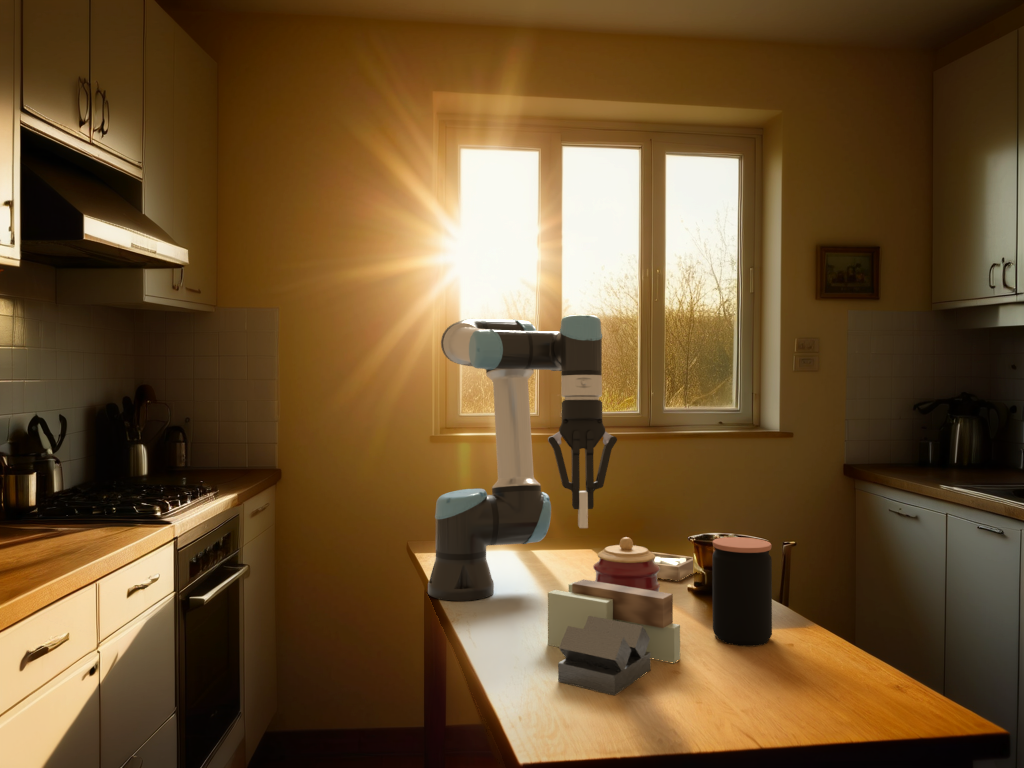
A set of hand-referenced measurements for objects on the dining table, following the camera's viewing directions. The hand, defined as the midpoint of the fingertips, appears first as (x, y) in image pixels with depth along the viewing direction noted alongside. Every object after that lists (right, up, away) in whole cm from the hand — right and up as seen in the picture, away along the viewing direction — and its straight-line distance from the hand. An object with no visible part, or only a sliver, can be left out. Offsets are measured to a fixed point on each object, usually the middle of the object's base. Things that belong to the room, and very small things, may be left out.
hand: (583, 526), depth 144 cm
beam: (+6, -21, -3) cm, 22 cm away
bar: (+6, -15, -4) cm, 17 cm away
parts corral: (+25, -22, +56) cm, 65 cm away
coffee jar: (+30, -22, +3) cm, 37 cm away
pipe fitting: (+27, -22, +56) cm, 66 cm away
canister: (+9, -22, +10) cm, 26 cm away
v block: (+2, -21, -17) cm, 27 cm away
